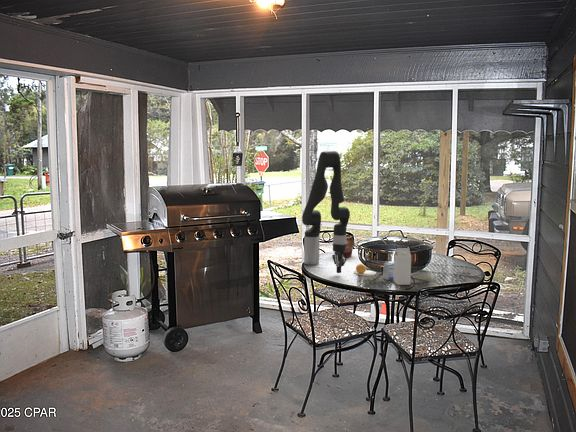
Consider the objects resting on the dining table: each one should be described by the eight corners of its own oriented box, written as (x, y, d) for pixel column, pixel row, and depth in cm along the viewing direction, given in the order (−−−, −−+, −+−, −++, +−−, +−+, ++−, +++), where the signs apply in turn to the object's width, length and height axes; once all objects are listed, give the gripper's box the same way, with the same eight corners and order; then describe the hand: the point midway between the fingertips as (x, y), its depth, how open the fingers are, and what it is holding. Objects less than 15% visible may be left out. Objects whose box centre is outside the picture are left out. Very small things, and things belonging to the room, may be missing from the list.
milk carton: (393, 281, 271) (394, 247, 268) (405, 281, 272) (407, 247, 269) (397, 285, 264) (398, 249, 261) (410, 284, 265) (411, 249, 262)
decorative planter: (339, 252, 346) (340, 232, 344) (356, 253, 342) (357, 233, 340) (331, 257, 328) (332, 237, 326) (349, 259, 323) (350, 238, 321)
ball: (358, 274, 290) (352, 269, 288) (363, 266, 291) (357, 261, 289) (364, 276, 285) (357, 271, 283) (369, 268, 286) (363, 263, 284)
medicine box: (387, 280, 273) (388, 264, 272) (382, 278, 277) (383, 263, 276) (399, 278, 277) (399, 263, 276) (393, 277, 281) (394, 261, 280)
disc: (349, 271, 292) (349, 270, 292) (368, 269, 297) (368, 269, 297) (360, 276, 280) (360, 276, 280) (380, 274, 285) (380, 274, 285)
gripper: (328, 240, 285) (327, 270, 287) (339, 245, 272) (338, 276, 275) (339, 240, 287) (339, 269, 290) (351, 244, 275) (350, 275, 278)
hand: (338, 272), depth 282 cm, fingers closed
